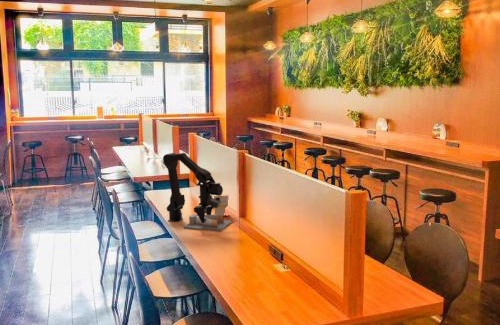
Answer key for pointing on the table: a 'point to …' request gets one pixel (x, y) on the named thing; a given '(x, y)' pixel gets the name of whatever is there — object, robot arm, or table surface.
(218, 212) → the supplement box
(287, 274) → the table surface
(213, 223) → the tong leg
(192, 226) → the tong mat
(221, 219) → the tong leg
